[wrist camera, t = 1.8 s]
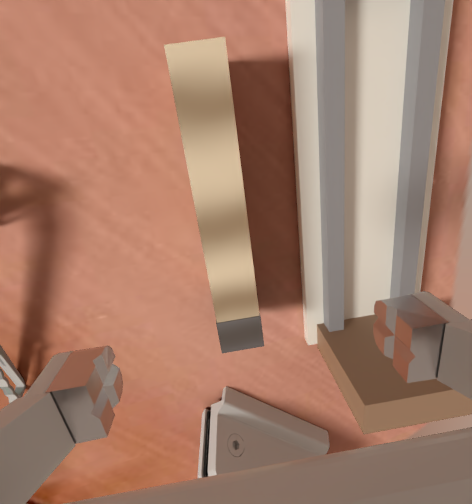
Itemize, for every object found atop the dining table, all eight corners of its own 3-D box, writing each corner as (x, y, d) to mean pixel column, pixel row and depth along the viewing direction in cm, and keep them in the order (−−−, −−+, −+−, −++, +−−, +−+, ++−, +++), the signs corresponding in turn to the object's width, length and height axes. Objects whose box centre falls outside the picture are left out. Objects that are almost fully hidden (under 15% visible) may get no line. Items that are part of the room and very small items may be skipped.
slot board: (283, -31, 21) (361, -202, 10) (446, -51, 21) (680, -235, 11) (305, 341, 33) (350, 436, 22) (408, 323, 33) (501, 408, 23)
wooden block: (174, 68, 22) (162, 44, 17) (221, 62, 22) (225, 36, 17) (219, 313, 30) (222, 353, 25) (253, 307, 30) (264, 346, 25)
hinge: (330, 432, 38) (344, 536, 30) (305, 441, 41) (312, 540, 33) (223, 384, 34) (207, 493, 26) (202, 399, 36) (183, 501, 29)
